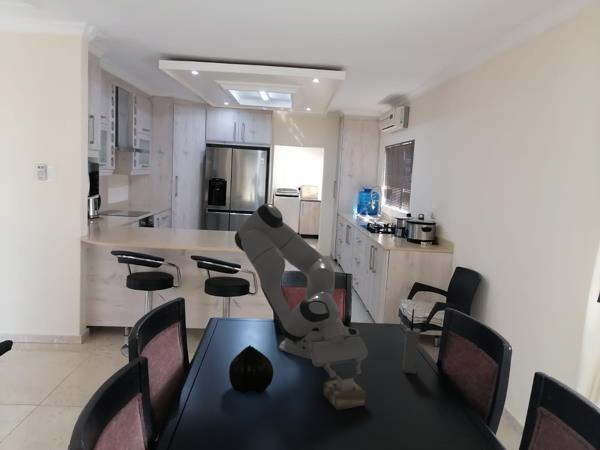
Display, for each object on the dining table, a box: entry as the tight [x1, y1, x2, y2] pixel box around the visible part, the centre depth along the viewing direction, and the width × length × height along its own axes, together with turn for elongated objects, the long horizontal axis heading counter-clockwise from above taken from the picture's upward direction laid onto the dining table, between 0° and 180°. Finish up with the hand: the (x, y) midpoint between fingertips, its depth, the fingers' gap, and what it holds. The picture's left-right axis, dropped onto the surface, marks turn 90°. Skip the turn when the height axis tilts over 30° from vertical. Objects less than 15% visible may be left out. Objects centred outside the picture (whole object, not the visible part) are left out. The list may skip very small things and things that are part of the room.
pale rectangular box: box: [336, 368, 355, 393], centre depth 141 cm, size 4×4×8 cm
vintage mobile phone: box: [402, 308, 421, 375], centre depth 165 cm, size 4×5×25 cm
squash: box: [228, 345, 274, 394], centre depth 146 cm, size 14×15×15 cm
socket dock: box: [323, 379, 366, 411], centre depth 142 cm, size 10×10×4 cm
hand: (346, 375), depth 141 cm, fingers open, 8 cm apart
